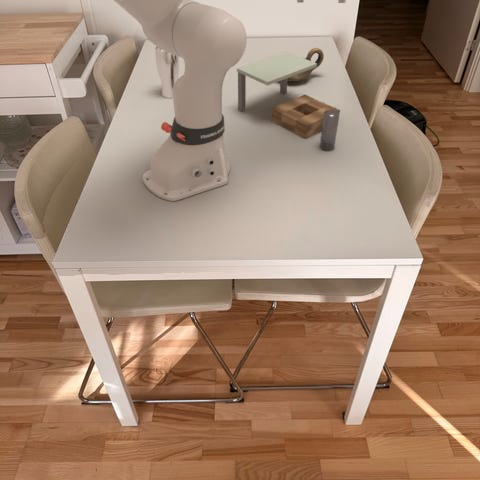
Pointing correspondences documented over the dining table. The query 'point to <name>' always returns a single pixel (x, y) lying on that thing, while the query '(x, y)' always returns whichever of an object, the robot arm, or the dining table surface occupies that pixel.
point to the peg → (329, 130)
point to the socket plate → (301, 115)
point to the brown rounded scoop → (307, 73)
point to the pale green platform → (271, 73)
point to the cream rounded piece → (167, 70)
